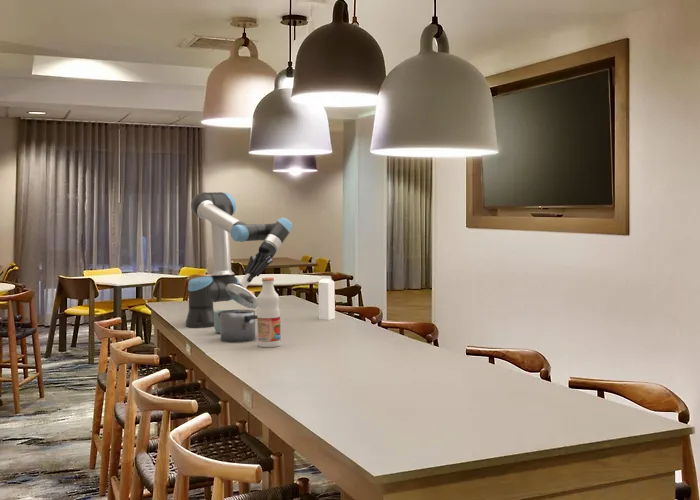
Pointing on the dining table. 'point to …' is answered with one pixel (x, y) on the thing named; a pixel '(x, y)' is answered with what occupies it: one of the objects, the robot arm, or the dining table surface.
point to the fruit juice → (268, 315)
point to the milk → (326, 298)
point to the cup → (217, 320)
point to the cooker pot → (237, 325)
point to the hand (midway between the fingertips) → (242, 286)
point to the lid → (242, 295)
